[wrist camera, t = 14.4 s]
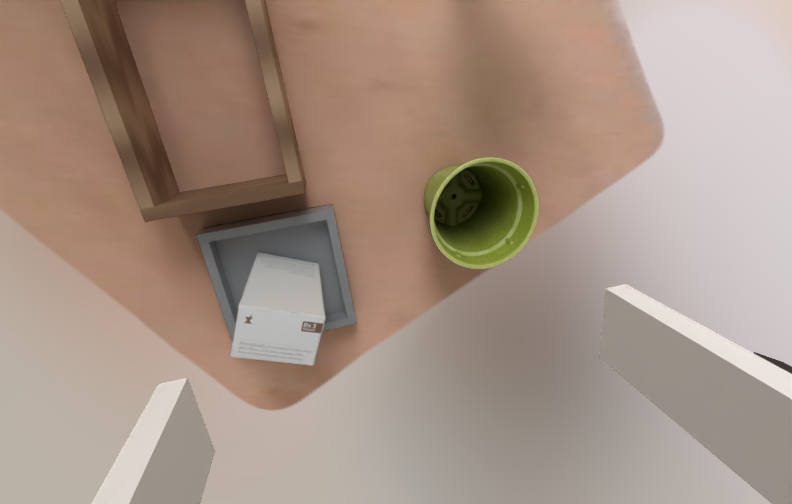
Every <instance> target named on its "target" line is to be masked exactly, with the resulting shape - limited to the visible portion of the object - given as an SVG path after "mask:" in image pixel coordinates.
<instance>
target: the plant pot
mask: <svg viewBox="0 0 792 504" xmlns="http://www.w3.org/2000/svg"><path fill="white" fill-rule="evenodd" d="M464 175H467V176H469V177H470V178H471V179H472V181H473V185H471V184H470V182H469V181H468V180H467V179H466V177H464ZM453 194H455V195H456V198H455V199H452V195H453ZM424 205H425V208H426V211H427V213H428V215H429V222H430V230H431V234H432V237H433V240H434V242H435V244H436V246H437V247H438V249H439V250H440V251H441V253H442V254H443V255H444V256H445V257H447V258H448V259H449V260H450V261H452V262H454V263H455V264H457V265H460V266H462V267H466V268H470V269H487V268H492V267H495V266H498V265H500V264H503V263H505V262H506V261H508V260H510V259H511V258H513V257H514V256H515V255H516V254H517V253H519V251H521V250H522V248H523V247H524V246H525V245H526V243H527V242H528V241H529V239H530V237H531V235H532V233H533V231H534V229H535V226H536V222H537V218H538V212H539V201H538V195H537V191H536V188H535V186H534V184H533V181H532V180H531V178H530V177H529V175H528V174H527V173H526V172H525V171H524V170H523V169H522V168H521V167H519V166H518V165H516V164H515V163H513V162H510V161H508V160H505V159H501V158H493V157H487V158H479V159H475V160H472V161H469V162H467V163H464V164H463V165H461V166H450V167H446V168H444V169H441V170H440V171H438V172H437V173H435V174H434V175H433V176H432V178H431V179H430V180H429V182H428V183H427V185H426V188H425V193H424ZM470 206H472V209H471V211H470V212H469V213H468V214H467V215H465V216H463V215H462V214H463V213H464V212H466V211H467V210H468V209H469V208H470ZM435 209H436V211H437V212H438V213H439V214H441V215H442V217H437V216H436V214H435Z"/></svg>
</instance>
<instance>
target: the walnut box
mask: <svg viewBox="0 0 792 504" xmlns="http://www.w3.org/2000/svg"><path fill="white" fill-rule="evenodd" d="M60 2H61V5H62V7H63V10H64V12H65V15H66V18H67V20H68V23H69V26H70V28H71V31H72V33H73V36H74V39H75V41H76V44H77V46H78V49H79V52H80V54H81V57H82V59H83V62H84V65H85V67H86V70H87V72H88V75H89V78H90V80H91V83H92V86H93V88H94V91H95V93H96V96H97V99H98V101H99V104H100V106H101V109H102V112H103V114H104V117H105V119H106V122H107V125H108V127H109V130H110V132H111V135H112V138H113V140H114V143H115V146H116V148H117V151H118V153H119V156H120V159H121V161H122V164H123V166H124V169H125V172H126V174H127V177H128V179H129V182H130V185H131V187H132V190H133V192H134V195H135V198H136V200H137V203H138V206H139V208H140V211H141V213H142V216H143V219H144V221H145V222H148V221H153V220H159V219H165V218H170V217H176V216H181V215H187V214H192V213H198V212H204V211H209V210H215V209H220V208H226V207H231V206H237V205H243V204H248V203H254V202H259V201H265V200H271V199H276V198H282V197H287V196H293V195H298V194H304V193H305V185H306V181H305V176H304V172H303V167H302V163H301V158H300V154H299V150H298V145H297V141H296V136H295V132H294V127H293V123H292V118H291V114H290V110H289V105H288V101H287V96H286V92H285V87H284V83H283V78H282V74H281V69H280V65H279V61H278V56H277V52H276V47H275V43H274V38H273V34H272V29H271V25H270V21H269V16H268V12H267V7H266V3H265V0H245V3H246V7H247V11H248V15H249V20H250V24H251V28H252V32H253V36H254V40H255V45H256V49H257V53H258V57H259V61H260V65H261V70H262V74H263V78H264V82H265V86H266V90H267V95H268V99H269V103H270V107H271V111H272V115H273V119H274V124H275V128H276V132H277V136H278V140H279V144H280V149H281V153H282V157H283V161H284V165H285V169H286V175H280V176H274V177H268V178H262V179H257V180H251V181H245V182H239V183H233V184H227V185H222V186H216V187H210V188H204V189H198V190H192V191H187V192H181V193H180V192H179V189H178V186H177V183H176V181H175V178H174V175H173V172H172V169H171V166H170V163H169V160H168V157H167V154H166V151H165V148H164V145H163V143H162V140H161V137H160V134H159V131H158V128H157V125H156V122H155V119H154V116H153V113H152V110H151V107H150V104H149V102H148V99H147V96H146V93H145V90H144V87H143V84H142V81H141V78H140V75H139V72H138V69H137V66H136V63H135V61H134V58H133V55H132V52H131V49H130V46H129V43H128V40H127V37H126V34H125V31H124V28H123V25H122V22H121V20H120V17H119V14H118V11H117V8H116V5H115V2H114V0H60Z"/></svg>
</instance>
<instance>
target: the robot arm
mask: <svg viewBox="0 0 792 504" xmlns="http://www.w3.org/2000/svg"><path fill="white" fill-rule="evenodd" d="M599 358H600V359H601V360H603V361H604V362H605V363H606V364H608V366H610V367H611V368H612V369H613V370H614V371H616V372H617V373H618V374H619V375H620V376H622V377H623V378H624V379H625V380H626V381H627V382H629V383H630V384H631V385H632V386H634V387H635V388H636V389H637V390H638V391H639V392H640V393H642V394H643V395H644V396H645V397H646V398H647V399H649V400H650V401H651V402H652V403H653V404H655V405H656V406H657V407H658V408H660V410H662V411H663V412H664V413H665V414H666V415H668V416H669V417H670V418H671V419H672V420H674V421H675V422H676V423H677V424H678V425H679V426H681V427H682V428H683V429H684V430H685V431H687V432H688V433H689V434H690V435H691V436H692V437H694V438H695V439H696V440H697V441H698V442H699V443H701V444H702V445H703V446H704V447H705V448H707V449H708V450H709V451H710V452H711V453H712V454H714V455H715V456H716V457H717V458H718V459H720V460H721V461H722V462H723V463H724V464H725V465H727V466H728V467H729V468H730V469H731V470H733V471H734V472H735V473H736V474H737V475H738V476H740V477H741V478H742V479H743V480H744V481H746V482H747V483H748V484H749V485H750V486H751V487H753V488H754V489H755V490H756V491H758V492H759V493H760V494H761V495H762V496H763V497H765V498H766V499H767V500H768V501H769V502H770V503H772V504H792V367H791V366H789V365H787V364H785V363H783V362H781V361H778V360H775V359H772V358H769V357H766V356H764V355H761V354H758V353H755V352H754V353H752V352H750V351H748V350H746V349H745V348H743V347H741V346H739V345H737V344H735V343H734V342H732V341H730V340H728V339H726V338H724V337H722V336H721V335H718V334H717V333H715V332H713V331H711V330H710V329H708V328H706V327H704V326H702V325H700V324H698V323H696V322H695V321H693V320H691V319H689V318H687V317H686V316H684V315H682V314H680V313H678V312H676V311H674V310H673V309H671V308H669V307H667V306H665V305H663V304H662V303H659V302H658V301H656V300H654V299H652V298H650V297H649V296H647V295H645V294H643V293H641V292H639V291H638V290H635V289H634V288H632V287H630V286H628V285H626V284H624V285H619V286H615V287H610V288H606V289H605V298H604V311H603V322H602V332H601V344H600V355H599ZM214 452H215V450H214V448H213V445H212V442H211V439H210V437H209V434H208V431H207V428H206V426H205V424H204V420H203V418H202V415H201V412H200V410H199V407H198V404H197V402H196V399H195V396H194V394H193V391H192V389H191V386H190V383H189V380H188V378H184V379H179V380H174V381H169V382H165V383H160V384H158V386H157V387H156V389H155V391H154V393H153V395H152V396H151V398H150V400H149V402H148V403H147V405H146V407H145V409H144V410H143V412H142V414H141V416H140V418H139V419H138V421H137V423H136V425H135V426H134V428H133V430H132V432H131V434H130V436H129V437H128V439H127V441H126V443H125V444H124V446H123V448H122V450H121V451H120V453H119V455H118V457H117V459H116V461H115V462H114V464H113V466H112V468H111V469H110V471H109V473H108V475H107V476H106V478H105V480H104V482H103V483H102V485H101V487H100V489H99V491H98V492H97V494H96V496H95V498H94V499H93V501H92V503H91V504H200V502H201V499H202V495H203V491H204V488H205V484H206V481H207V477H208V474H209V470H210V466H211V463H212V460H213V456H214Z"/></svg>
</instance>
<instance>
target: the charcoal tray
mask: <svg viewBox="0 0 792 504" xmlns="http://www.w3.org/2000/svg"><path fill="white" fill-rule="evenodd" d="M196 237H197V240H198V242H199V245H200V248H201V251H202V254H203V257H204V260H205V263H206V266H207V269H208V272H209V275H210V278H211V281H212V284H213V287H214V290H215V292H216V295H217V298H218V301H219V304H220V307H221V310H222V313H223V316H224V319H225V322H226V325H227V328H228V331H229V334H230V337H231V340H232V343H233V338H234V332H235V326H236V320H237V313H238V306H239V303H240V301H241V299H242V296H243V292H244V289H245V286H246V283H247V281H248V278H249V275H250V272H251V269H252V267H253V264H254V261H255V259H256V256H257V253H258V252H261V253H266V254H271V255H276V256H282V257H287V258H292V259H297V260H302V261H308V262H313V263H318V264H319V268H320V277H321V286H322V294H323V303H324V310H325V316H326V320H325V324H324V328H323V331H327V330H331V329H336V328H340V327H345V326H349V325H353V324H357V322H356V317H355V312H354V307H353V302H352V297H351V292H350V288H349V283H348V278H347V273H346V268H345V263H344V258H343V253H342V249H341V244H340V239H339V234H338V229H337V224H336V219H335V214H334V210H333V205H332V204H330V205H324V206H319V207H314V208H308V209H303V210H297V211H292V212H286V213H281V214H276V215H270V216H265V217H259V218H254V219H249V220H243V221H238V222H232V223H227V224H221V225H216V226H211V227H205V228H203V229H202V230H201V231H200V232H199V233H198V234H197V235H196ZM323 331H322V332H323Z"/></svg>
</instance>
